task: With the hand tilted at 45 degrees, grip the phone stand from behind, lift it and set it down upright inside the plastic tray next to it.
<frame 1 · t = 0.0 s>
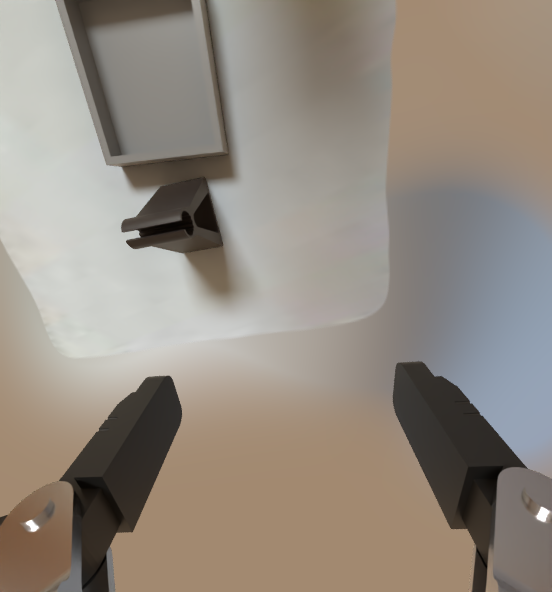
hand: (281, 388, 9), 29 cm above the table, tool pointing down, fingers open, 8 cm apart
phone stand: (194, 216, 36), on the table
tray: (156, 82, 30), on the table
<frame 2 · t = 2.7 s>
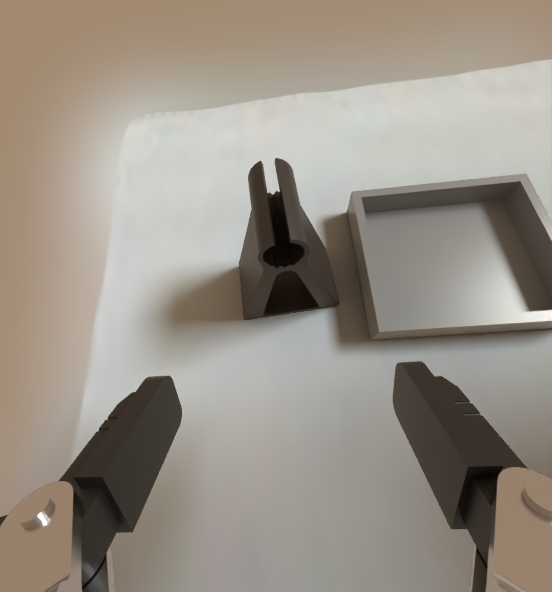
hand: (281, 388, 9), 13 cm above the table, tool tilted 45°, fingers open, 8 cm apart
phone stand: (286, 285, 26), on the table
tray: (442, 262, 25), on the table
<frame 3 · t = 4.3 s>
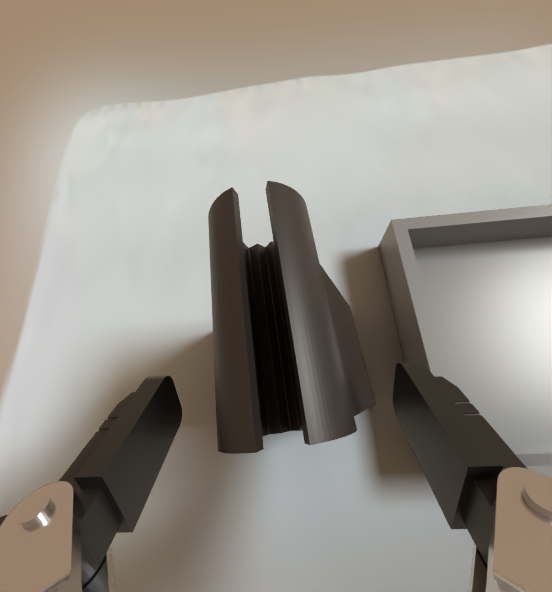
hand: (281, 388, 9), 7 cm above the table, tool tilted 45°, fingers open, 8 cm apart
phone stand: (290, 364, 17), on the table
tray: (535, 332, 16), on the table
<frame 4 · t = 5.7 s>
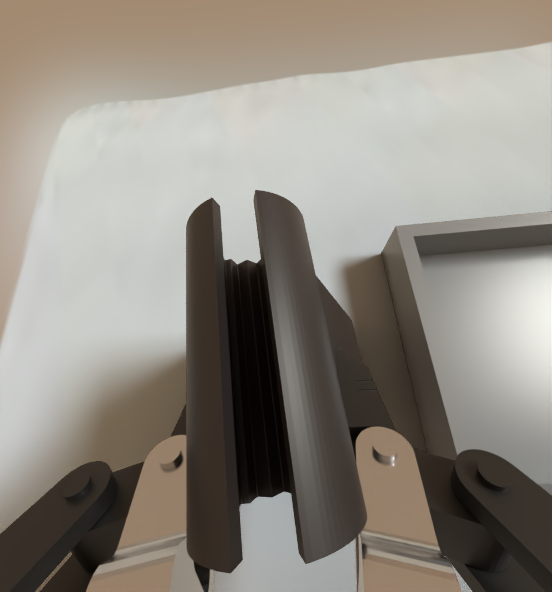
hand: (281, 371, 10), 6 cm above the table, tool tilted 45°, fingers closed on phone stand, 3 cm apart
phone stand: (287, 382, 16), on the table, touching gripper
tray: (551, 347, 15), on the table
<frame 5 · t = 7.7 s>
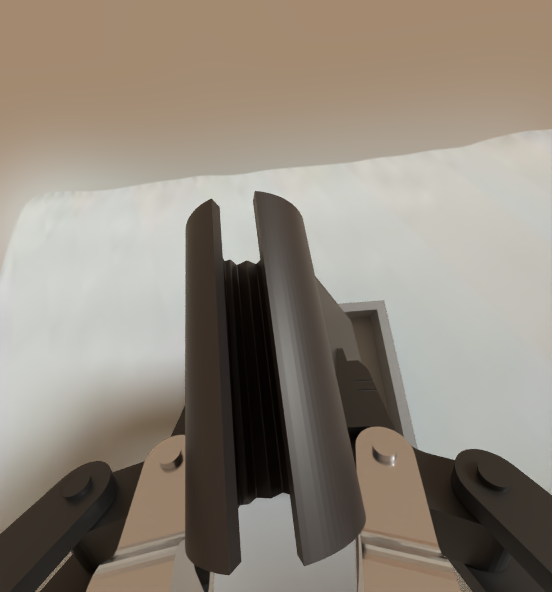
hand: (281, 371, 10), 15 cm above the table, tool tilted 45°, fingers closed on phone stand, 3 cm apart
phone stand: (286, 382, 16), point 10 cm above the table, touching gripper
tray: (303, 387, 25), on the table
when the fingers open (7 cm above the table, at t = 10.2 s): phone stand drops 1 cm, resting on tray.
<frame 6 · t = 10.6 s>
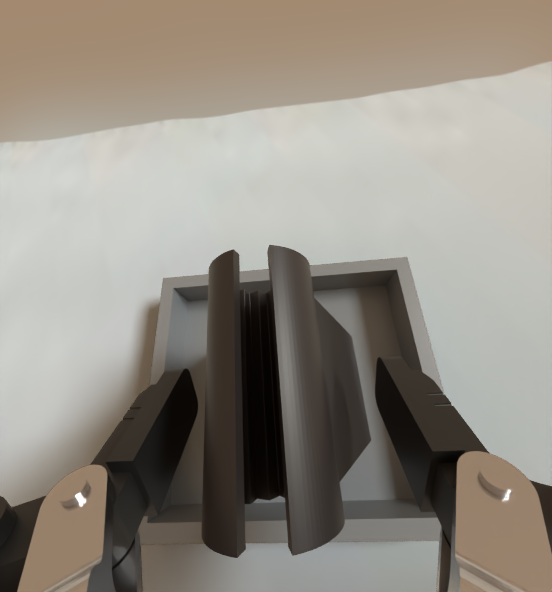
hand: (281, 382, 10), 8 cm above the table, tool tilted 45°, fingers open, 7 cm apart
phone stand: (287, 391, 17), resting on tray
tray: (290, 383, 17), on the table
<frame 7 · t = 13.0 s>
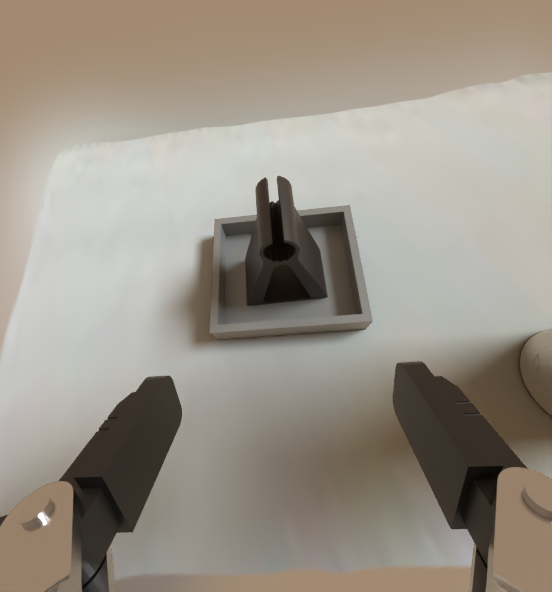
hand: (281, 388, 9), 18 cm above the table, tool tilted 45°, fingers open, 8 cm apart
phone stand: (284, 278, 30), resting on tray
tray: (286, 276, 31), on the table
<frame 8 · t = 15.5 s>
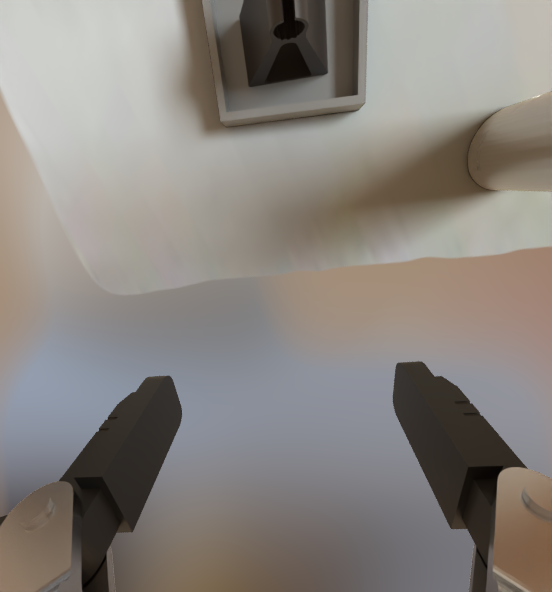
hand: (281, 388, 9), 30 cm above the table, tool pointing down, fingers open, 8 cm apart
phone stand: (284, 48, 29), resting on tray
tray: (286, 44, 29), on the table
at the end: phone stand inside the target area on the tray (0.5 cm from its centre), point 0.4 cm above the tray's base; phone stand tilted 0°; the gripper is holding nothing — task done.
